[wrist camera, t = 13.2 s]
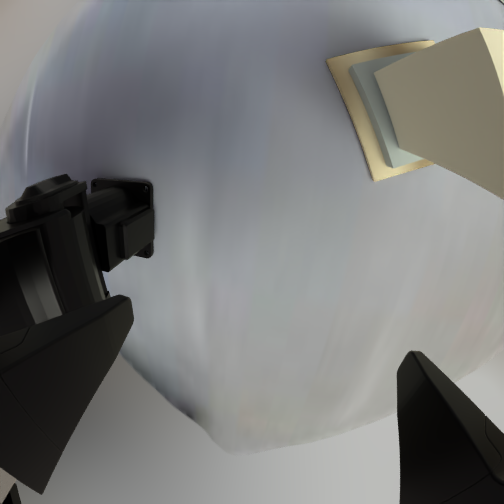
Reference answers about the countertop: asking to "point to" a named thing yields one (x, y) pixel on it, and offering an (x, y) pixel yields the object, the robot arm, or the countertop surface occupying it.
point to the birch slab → (358, 110)
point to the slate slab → (380, 109)
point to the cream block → (452, 105)
